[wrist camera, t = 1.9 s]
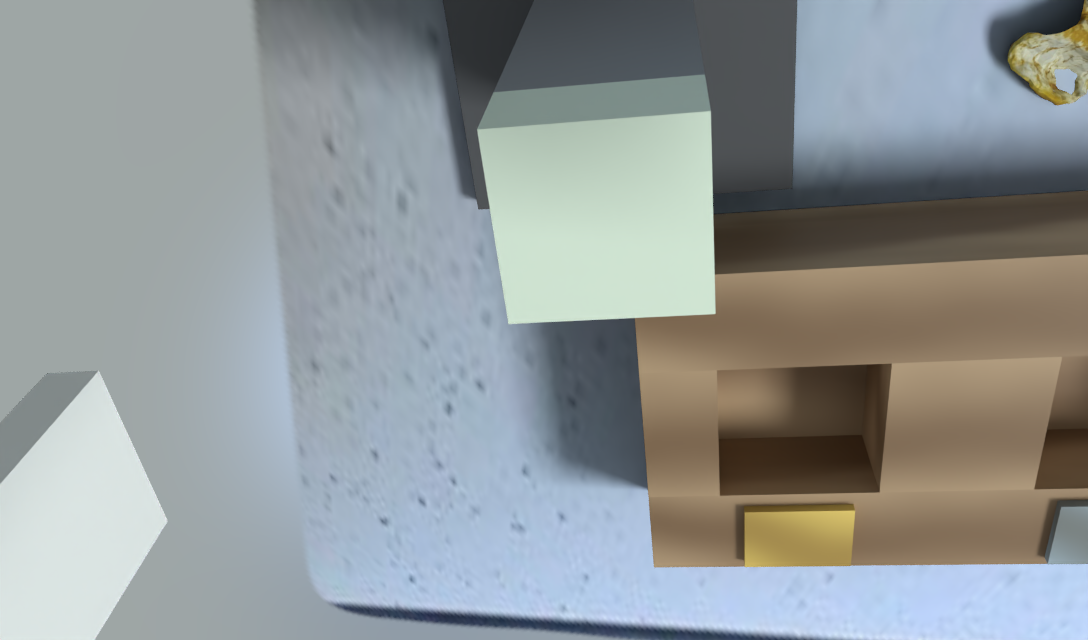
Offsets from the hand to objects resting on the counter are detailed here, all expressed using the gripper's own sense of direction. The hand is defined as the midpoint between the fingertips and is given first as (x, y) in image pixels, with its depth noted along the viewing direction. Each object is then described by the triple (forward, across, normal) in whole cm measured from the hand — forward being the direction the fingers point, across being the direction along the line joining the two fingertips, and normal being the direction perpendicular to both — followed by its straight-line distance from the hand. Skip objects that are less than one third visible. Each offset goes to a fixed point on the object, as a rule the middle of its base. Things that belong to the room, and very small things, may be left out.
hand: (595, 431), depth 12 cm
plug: (+18, 0, 0) cm, 18 cm away
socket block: (+18, +10, -12) cm, 24 cm away
